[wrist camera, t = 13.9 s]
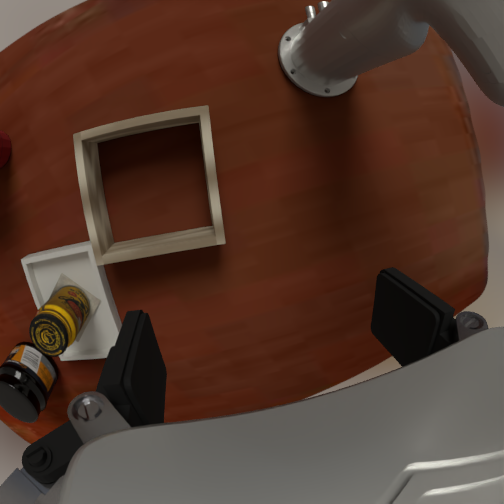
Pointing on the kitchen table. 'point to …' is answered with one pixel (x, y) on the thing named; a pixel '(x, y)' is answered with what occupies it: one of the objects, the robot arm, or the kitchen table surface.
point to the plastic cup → (4, 148)
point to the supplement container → (26, 382)
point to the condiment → (62, 317)
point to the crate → (95, 196)
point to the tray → (88, 277)
